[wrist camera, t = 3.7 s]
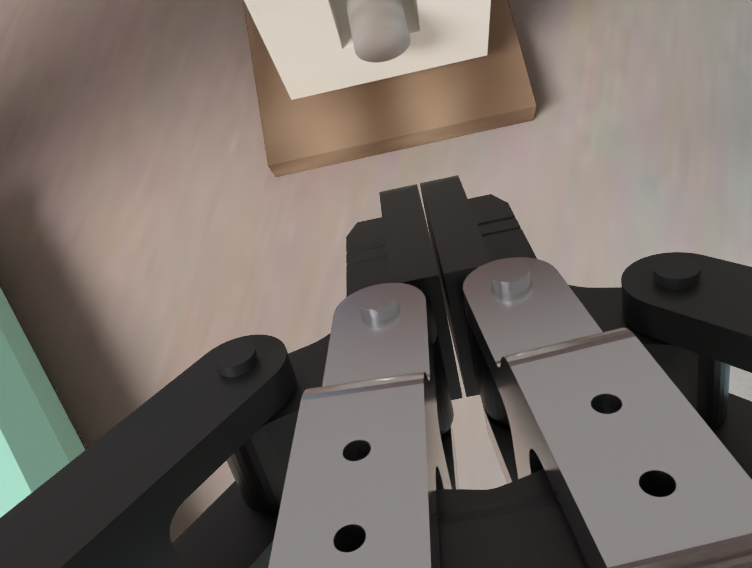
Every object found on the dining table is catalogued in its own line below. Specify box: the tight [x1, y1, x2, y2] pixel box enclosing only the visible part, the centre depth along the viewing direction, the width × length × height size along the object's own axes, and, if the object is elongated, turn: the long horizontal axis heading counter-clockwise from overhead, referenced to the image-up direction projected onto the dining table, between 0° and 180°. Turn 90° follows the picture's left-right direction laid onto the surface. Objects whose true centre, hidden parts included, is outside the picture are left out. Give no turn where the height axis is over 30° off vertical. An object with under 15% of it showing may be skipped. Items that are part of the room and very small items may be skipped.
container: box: [0, 288, 85, 518], centre depth 32 cm, size 6×6×25 cm
